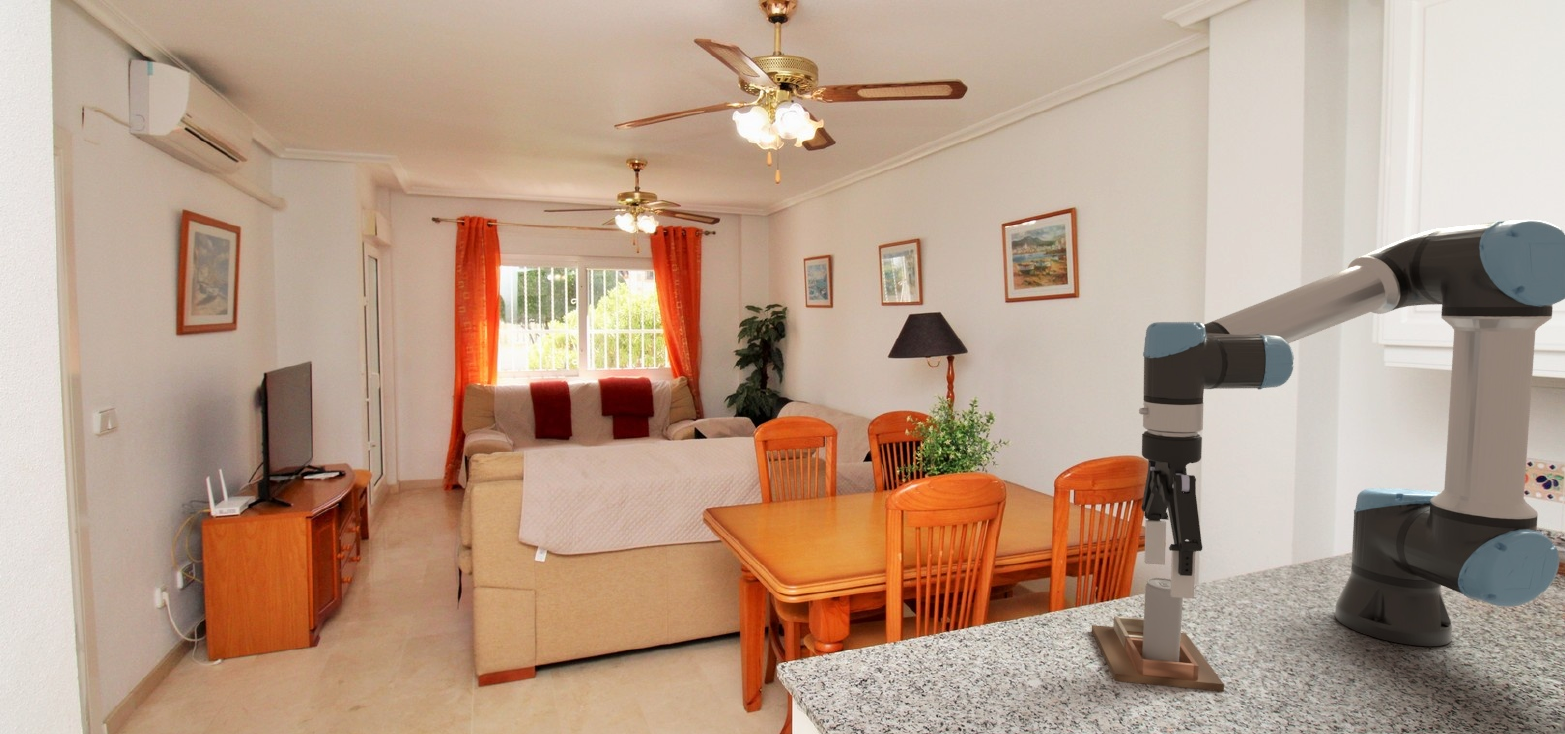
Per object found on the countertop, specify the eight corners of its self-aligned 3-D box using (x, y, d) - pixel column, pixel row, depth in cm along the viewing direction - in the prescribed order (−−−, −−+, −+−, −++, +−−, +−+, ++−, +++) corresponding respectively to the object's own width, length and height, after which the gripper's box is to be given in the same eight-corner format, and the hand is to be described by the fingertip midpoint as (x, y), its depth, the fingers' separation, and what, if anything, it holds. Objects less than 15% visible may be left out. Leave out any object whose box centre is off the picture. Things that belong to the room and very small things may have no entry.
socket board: (1185, 639, 123) (1186, 620, 123) (1223, 691, 106) (1224, 669, 106) (1091, 631, 126) (1092, 613, 126) (1114, 680, 109) (1115, 659, 109)
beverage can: (1173, 658, 114) (1177, 578, 113) (1183, 673, 109) (1187, 590, 108) (1138, 655, 115) (1142, 576, 114) (1146, 670, 110) (1150, 587, 109)
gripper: (1122, 418, 122) (1119, 550, 124) (1168, 447, 98) (1163, 611, 100) (1174, 419, 121) (1170, 552, 123) (1233, 449, 96) (1228, 615, 98)
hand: (1167, 579), depth 111 cm, fingers open, 13 cm apart
